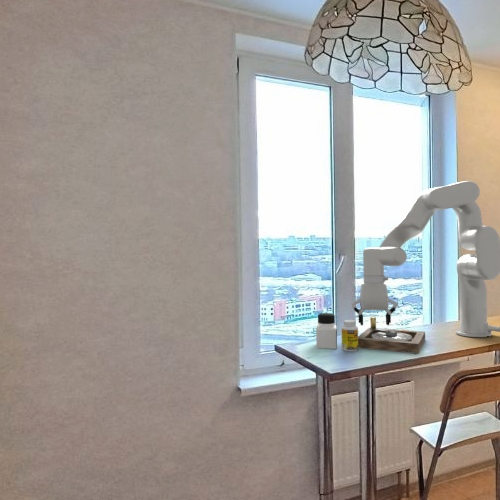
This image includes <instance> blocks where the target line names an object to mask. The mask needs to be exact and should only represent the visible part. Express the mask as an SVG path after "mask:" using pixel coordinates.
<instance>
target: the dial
mask: <svg viewBox="0 0 500 500" xmlns="http://www.w3.org/2000/svg"><path fill="white" fill-rule="evenodd" d="M369 328H370V330H373V331H377V332H378V333H374V334H372V338H373V339H385V340H397V341H410V342H412V336H411V335H408V334H405V333H398V332H396V331H388V330H383V329H384V328H380V329H378V328H379V327H377V317H376V316H371V317H370V327H369Z"/></svg>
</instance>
